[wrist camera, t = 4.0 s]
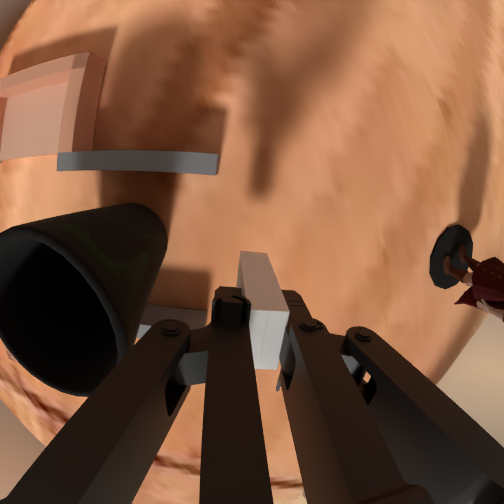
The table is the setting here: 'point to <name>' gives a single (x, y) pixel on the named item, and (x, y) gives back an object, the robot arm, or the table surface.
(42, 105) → the track
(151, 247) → the cup
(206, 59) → the table surface
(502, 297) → the figurine
